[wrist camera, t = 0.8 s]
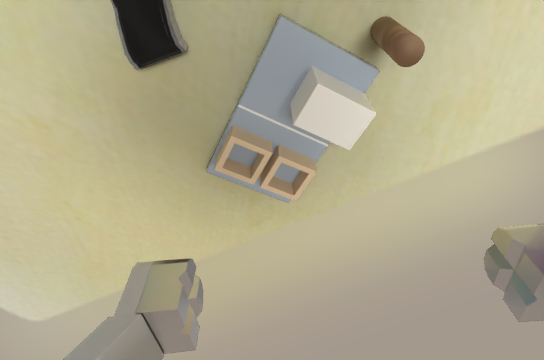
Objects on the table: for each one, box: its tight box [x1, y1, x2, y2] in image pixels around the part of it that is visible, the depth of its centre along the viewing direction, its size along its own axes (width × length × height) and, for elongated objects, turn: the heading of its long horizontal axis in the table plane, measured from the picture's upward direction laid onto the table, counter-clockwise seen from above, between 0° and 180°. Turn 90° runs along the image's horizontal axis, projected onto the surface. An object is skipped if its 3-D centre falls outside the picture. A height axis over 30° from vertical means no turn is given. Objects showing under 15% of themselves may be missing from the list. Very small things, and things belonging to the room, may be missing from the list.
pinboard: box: [207, 14, 379, 203], centre depth 46 cm, size 24×14×4 cm, turn 153°
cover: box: [290, 66, 377, 150], centre depth 42 cm, size 6×8×6 cm
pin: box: [371, 17, 425, 67], centre depth 38 cm, size 3×3×9 cm
